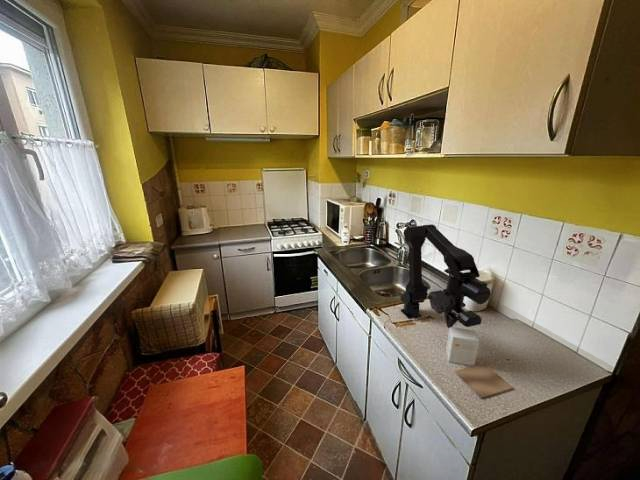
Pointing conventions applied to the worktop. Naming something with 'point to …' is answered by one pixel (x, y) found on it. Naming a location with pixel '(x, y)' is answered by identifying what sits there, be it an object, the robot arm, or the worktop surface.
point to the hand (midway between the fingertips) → (449, 327)
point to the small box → (462, 346)
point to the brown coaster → (483, 380)
